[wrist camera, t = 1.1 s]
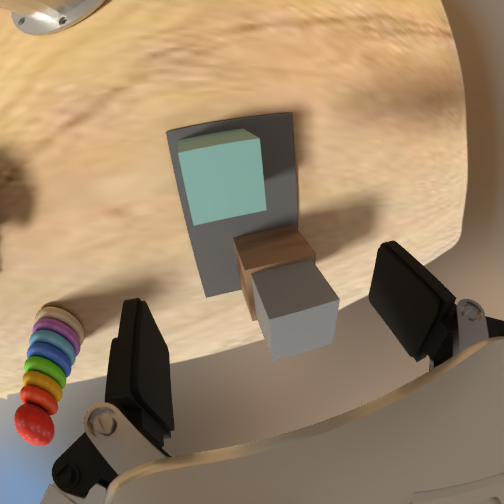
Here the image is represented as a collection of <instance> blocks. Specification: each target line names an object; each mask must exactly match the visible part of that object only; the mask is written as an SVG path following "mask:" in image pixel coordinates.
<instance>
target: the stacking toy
mask: <svg viewBox="0 0 504 504" xmlns="http://www.w3.org/2000/svg"><path fill="white" fill-rule="evenodd" d="M32 333H33V334H32V335H31V337H30V340H29V345H30V347H29V349H28V352H27V358H28V359H27V360H26V362H25V365H24V369H25V374H24V376H23V384H24V387H23V388H22V389H21V391H20V396H21V400H22V401H23V403H24V404H23V405H21V406H20V407H19V408H18V409H17V411H16V413H15V419H14V420H15V426H16V429H17V431H18V433H19V434H20V435H21V437H22V438H23V439H24V440H26V441H27V442H29V443H30V444H33V445H36V446H44V445H47V444H48V443H50V442H51V441H52V439H53V437H54V424H53V421H52V419H51V417H50V416H49V415H54V414H55V413H56V412H57V410H58V404H57V402H58V401H60V399H61V398H62V389H63V388H64V387H65V385H66V378H67V377H68V376H69V375H70V373H71V366H72V365H73V364H74V362H75V359H76V356H77V355H78V354H79V352H80V345H81V344H82V343H83V340H84V330H83V328H82V326H81V324H80V322H79V321H78V320H77V319H76V318H75V317H74V316H73V315H72V314H70V313H69V312H67V311H65V310H63V309H61V308H58V307H44V308H42V309H41V310H39V311H38V313H37V314H36V317H35V325H34V327H33V331H32Z"/></svg>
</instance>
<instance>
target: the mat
mask: <svg viewBox="0 0 504 504" xmlns="http://www.w3.org/2000/svg"><path fill="white" fill-rule="evenodd" d="M242 128H243V129H245V130H246V131H248V132H250V133H252V134H253V135H255V136H257V137H258V138H260V146H261V156H262V166H263V177H264V187H265V198H266V209H267V210H265V211H260V212H255V213H250V214H246V215H241V216H236V217H231V218H226V219H222V220H217V221H213V222H208V223H203V224H199V225H195V226H194V225H193V221H192V216H191V212H190V207H189V203H188V199H187V194H186V189H185V185H184V180H183V175H182V170H181V166H180V161H179V156H178V144H179V140H181V139H186V138H191V137H196V136H201V135H206V134H211V133H217V132H223V131H229V130H235V129H242ZM166 134H167V139H168V144H169V149H170V154H171V159H172V164H173V168H174V173H175V178H176V182H177V187H178V191H179V196H180V200H181V204H182V208H183V212H184V217H185V221H186V225H187V229H188V233H189V237H190V241H191V244H192V248H193V252H194V256H195V260H196V263H197V267H198V271H199V274H200V278H201V281H202V285H203V288H204V292H205V295H206V298H207V297H211V296H215V295H220V294H224V293H228V292H233V291H237V290H241V289H242V288H241V284H240V278H239V272H238V266H237V260H236V255H235V249H234V243H233V238H235V237H240V236H244V235H249V234H253V233H258V232H263V231H267V230H272V229H277V228H282V227H286V226H291V225H294V226H295V227H296V229H297V230H298V220H297V190H296V167H295V149H294V133H293V119H292V113H280V114H269V115H260V116H252V117H244V118H237V119H230V120H224V121H217V122H212V123H206V124H201V125H196V126H191V127H186V128H181V129H176V130H172V131H168V132H166Z"/></svg>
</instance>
